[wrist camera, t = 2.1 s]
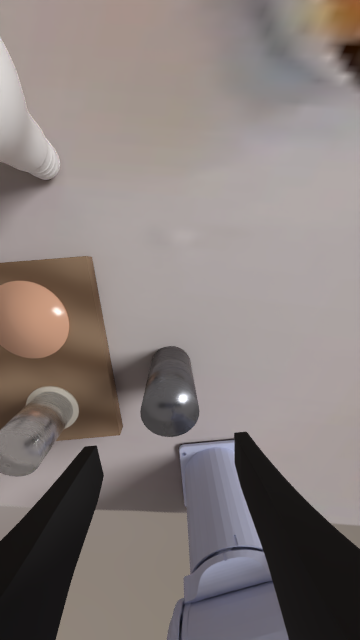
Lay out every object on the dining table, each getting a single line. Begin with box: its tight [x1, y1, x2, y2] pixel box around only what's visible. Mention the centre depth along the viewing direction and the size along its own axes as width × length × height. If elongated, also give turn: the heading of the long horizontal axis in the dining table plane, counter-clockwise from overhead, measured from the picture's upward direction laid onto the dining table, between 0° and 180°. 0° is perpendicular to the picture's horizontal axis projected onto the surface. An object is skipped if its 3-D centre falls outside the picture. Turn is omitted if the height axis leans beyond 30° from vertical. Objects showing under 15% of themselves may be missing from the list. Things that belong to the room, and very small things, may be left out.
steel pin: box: [141, 346, 199, 437], centre depth 17 cm, size 4×4×7 cm
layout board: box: [0, 256, 123, 476], centre depth 16 cm, size 18×12×6 cm, turn 4°
